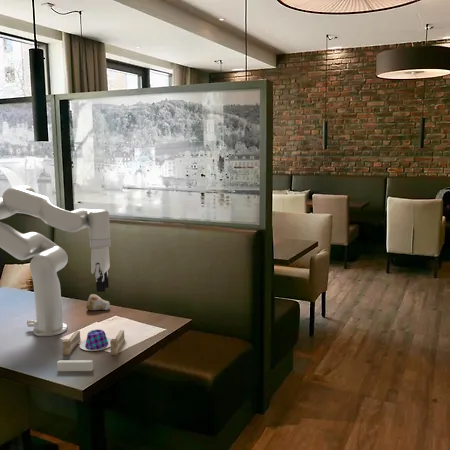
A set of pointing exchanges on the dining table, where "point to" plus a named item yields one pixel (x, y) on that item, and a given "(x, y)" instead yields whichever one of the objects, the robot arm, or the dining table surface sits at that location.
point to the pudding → (95, 341)
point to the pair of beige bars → (75, 338)
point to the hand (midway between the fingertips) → (102, 289)
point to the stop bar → (75, 365)
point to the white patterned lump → (96, 303)
